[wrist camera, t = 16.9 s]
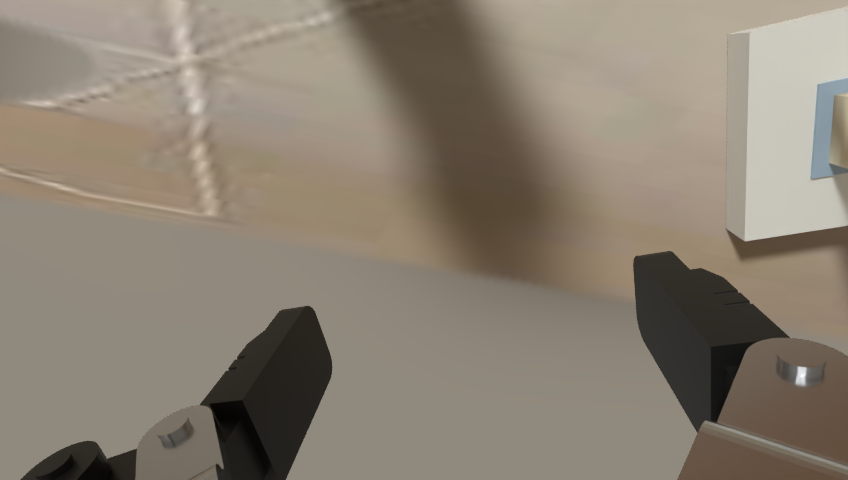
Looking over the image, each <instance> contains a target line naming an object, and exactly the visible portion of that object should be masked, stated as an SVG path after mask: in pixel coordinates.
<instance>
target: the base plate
mask: <svg viewBox="0 0 848 480" xmlns="http://www.w3.org/2000/svg"><path fill="white" fill-rule="evenodd" d="M847 92H848V7H844V8H839V9H835V10H831V11H826V12H822V13H818V14H813V15H809V16H805V17H800V18H796V19H792V20H787V21H783V22H779V23H774V24H770V25H766V26H761V27H757V28H753V29H748V30H744V31H739V32H735V33H731V34H728V59H727V176H726V229H727V230H729V231H730V232H732V233H733V234H735V235H736V236H738V237H739V238H740V239H742V240H743V241H751V240H758V239H764V238H771V237H777V236H784V235H790V234H797V233H803V232H810V231H816V230H823V229H829V228H836V227H842V226H848V169H847V168H843V167H840V166H837V165H834V164H830V163H829V154H830V141H831V129H832V116H833V104H834V95H837V94H842V93H847Z"/></svg>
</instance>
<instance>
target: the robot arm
mask: <svg viewBox="0 0 848 480" xmlns="http://www.w3.org/2000/svg"><path fill="white" fill-rule="evenodd" d="M633 268H634V283H635V297H636V310H637V311H636V312H637V320H638V325H639V329H640V332H641V336H642V338H643V341H644V342H645V344H646V346H647V348H648V349H649V351H650V353H651V354H652V356H653V358H654V359H655V361H656V363H657V365H658V366H659V368H660V370H661V371H662V373H663V375H664V377H665V378H666V380H667V382H668V383H669V385H670V387H671V389H672V390H673V392H674V393H675V395H676V397H677V399H678V401H679V402H680V404H681V406H682V407H683V409H684V411H685V413H686V414H687V416H688V418H689V419H690V421H691V423H692V424H693V426H694V428H695V429H696V431H697V433H698V434H697V436H696V438H695V441H694V443H693V445H692V447H691V450H690V452H689V455H688V457H687V459H686V462H685V463H684V466H683V468H682V470H681V473H680V475H679V477H678V479H677V480H848V356H847V355H845V354H843V353H841V352H840V351H838V350H836V349H834V348H831V347H829V346H826V345H823V344H820V343H817V342H813V341H809V340H803V339H797V338H790V337H789V336H788V335H787V334H785V333H784V332H783V331H782V330H781V329H780V328H779V327H778V326H777V325H775V324H774V323H773V322H772V321H771V320H770V319H769V318H768V317H767V316H765V315H764V314H763V313H762V312H761V311H760V310H759V309H758V308H757V307H755V306H754V305H753V304H750V302H749V300H748V299H747V298H746V297H744V296H743V295H742V294H741V293H738V291H737V289H736V288H734V287H733V286H732V285H731V284H730V283H729V282H728V281H727V280H726V279H724V278H723V277H721V276H719V275H716V274H714V273H711V272H709V271H707V270H704V269H702V268H699V269H692V270H690V269H689V268H688V267H687V266H686V265H685V264H684V263H683V262H682V261H681V260H680V259H679V258H678V257H677V256H676V255H675V254H674V253H673V252H671V251H667V252H660V253H654V254H647V255H641V256H636V257H635V258H634V263H633ZM331 374H332V360H331V356H330V352H329V350H328V347H327V344H326V341H325V338H324V335H323V333H322V330H321V327H320V324H319V322H318V319H317V316H316V313H315V311H314V310H313V308H311V307H310V306H304V307H297V308H291V309H284V310H281V311H279V313H278V314H277V315H276V316H275V318H274V319H273V320H272V322H271V323H270V324H269V326H268V327H267V328H266V330H265V331H263V332H262V333H261V334H260V335H258V336H257V337H256V338H255V339H253V340H252V341H251V342H249V343H248V344H247V345H246V347H245V348H244V349H243V350H242V352H241V353H240V354H239V356H238V357H237V360H235V361H234V362H233V363H232V364H231V366H230V367H229V371H226V372H225V373H224V375H223V376H222V377H221V378H220V380H219V381H218V382H217V384H216V385H215V386H214V387H213V389H212V390H211V391H210V393H209V394H208V395H207V396H206V398H205V399H204V400H203V401H202V403H201V404H200V405H199V406H198V405H197V406H191V407H187V408H184V409H181V410H179V411H176V412H174V413H172V414H171V415H169V416H167V417H165V418H164V419H162V420H161V421H159V422H158V423H157V424H155V425H154V426H153V427H152V428H151V429H150V430H149V431H148V432H147V433H146V434H145V435H144V436H143V438H142V439H141V441H140V442H139V444H138V447H137V449H135V450H132V451H129V452H126V453H123V454H120V455H117V456H114V457H111V458H108V459H107V458H106V456H105V455H104V453H103V452H102V450H101V448H100V447H99V445H98V444H97V443H96V442H93V441H84V442H79V443H76V444H73V445H71V446H68V447H66V448H64V449H61V450H59V451H57V452H56V453H54V454H52V455H51V456H49V457H47V458H46V459H44V460H43V461H42V462H40V463H39V464H38V465H36V466H35V467H34V468H33V469H31V470H30V471H29V472H28V473H27V474H26V475H25V476H24V477H23V478H22V479H21V480H286V478H287V475H288V473H289V471H290V469H291V466H292V464H293V462H294V460H295V457H296V455H297V453H298V450H299V448H300V446H301V444H302V442H303V439H304V437H305V435H306V432H307V430H308V428H309V426H310V424H311V421H312V419H313V417H314V415H315V412H316V410H317V408H318V406H319V403H320V401H321V399H322V397H323V395H324V392H325V390H326V388H327V385H328V383H329V381H330V378H331Z"/></svg>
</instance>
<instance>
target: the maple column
mask: <svg viewBox="0 0 848 480" xmlns="http://www.w3.org/2000/svg"><path fill="white" fill-rule="evenodd" d="M829 163H830V164H834V165H837V166H840V167H843V168H847V169H848V92H847V93H842V94H837V95H834V104H833V116H832V129H831V141H830V154H829Z"/></svg>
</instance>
